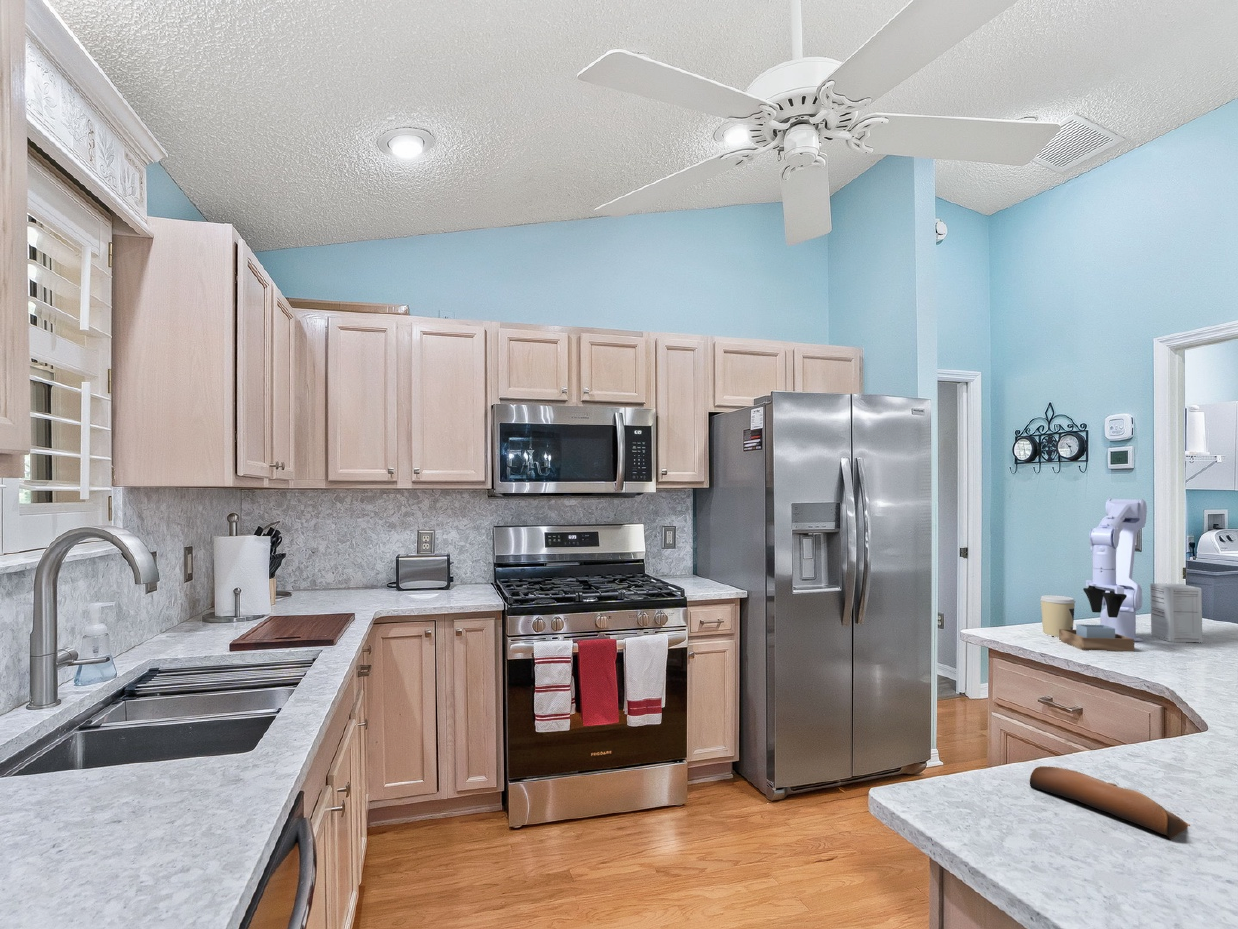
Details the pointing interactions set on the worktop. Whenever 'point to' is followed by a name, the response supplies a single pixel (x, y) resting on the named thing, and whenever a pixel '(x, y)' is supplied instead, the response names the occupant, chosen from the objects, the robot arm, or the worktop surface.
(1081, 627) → the slate crate
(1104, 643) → the walnut crate
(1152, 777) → the worktop surface
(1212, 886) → the worktop surface
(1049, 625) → the coffee cup
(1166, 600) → the supplement box
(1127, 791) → the sunglasses case
